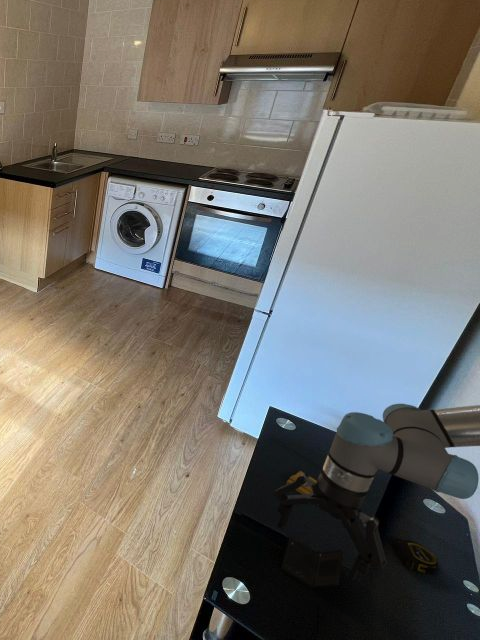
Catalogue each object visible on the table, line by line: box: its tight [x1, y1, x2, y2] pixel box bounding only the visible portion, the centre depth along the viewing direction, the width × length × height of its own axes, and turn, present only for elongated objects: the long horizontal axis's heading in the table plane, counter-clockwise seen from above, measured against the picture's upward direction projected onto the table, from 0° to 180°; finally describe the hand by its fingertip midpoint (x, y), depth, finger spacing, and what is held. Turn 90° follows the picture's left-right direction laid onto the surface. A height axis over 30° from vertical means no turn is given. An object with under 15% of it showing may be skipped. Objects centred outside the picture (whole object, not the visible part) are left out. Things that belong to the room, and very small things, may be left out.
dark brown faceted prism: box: [280, 537, 344, 591], centre depth 94 cm, size 12×7×10 cm
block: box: [285, 470, 319, 506], centre depth 116 cm, size 10×8×2 cm
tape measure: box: [390, 538, 439, 575], centre depth 97 cm, size 7×7×4 cm
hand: (314, 550), depth 94 cm, fingers open, 13 cm apart
